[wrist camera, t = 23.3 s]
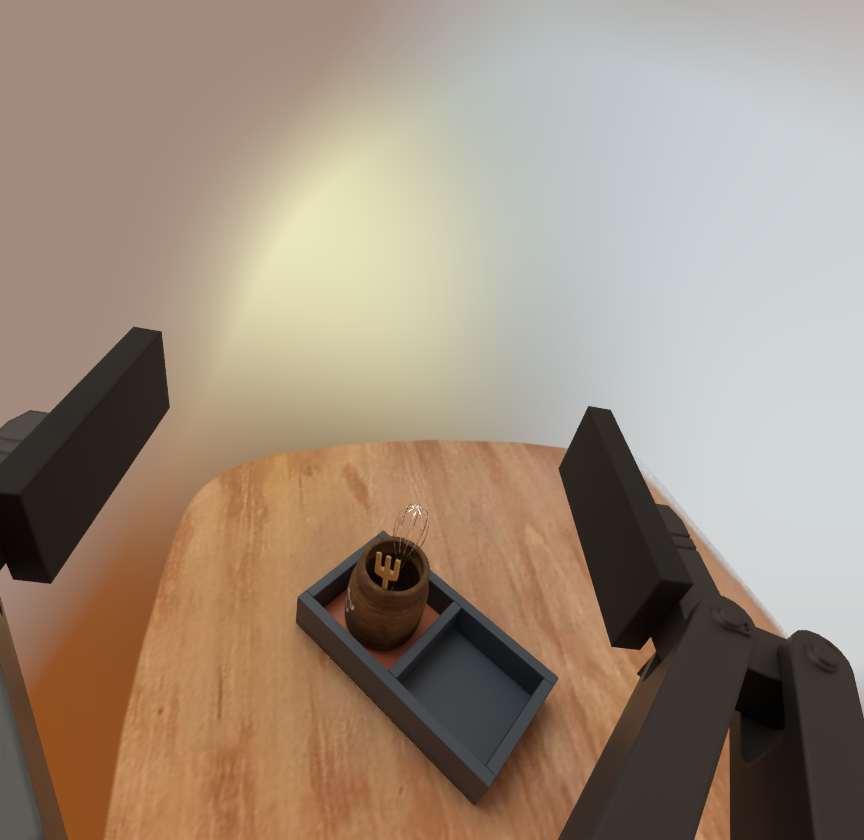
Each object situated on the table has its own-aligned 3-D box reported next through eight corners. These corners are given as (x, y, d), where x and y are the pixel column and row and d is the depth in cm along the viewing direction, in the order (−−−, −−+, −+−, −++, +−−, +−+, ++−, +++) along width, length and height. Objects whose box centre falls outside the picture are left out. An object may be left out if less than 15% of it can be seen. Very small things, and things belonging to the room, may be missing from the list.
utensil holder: (428, 600, 43) (462, 504, 36) (401, 670, 38) (434, 576, 31) (362, 572, 44) (383, 472, 37) (327, 638, 39) (343, 538, 32)
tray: (474, 805, 34) (489, 787, 31) (295, 621, 40) (297, 596, 38) (542, 698, 40) (559, 677, 38) (377, 554, 47) (383, 529, 44)
